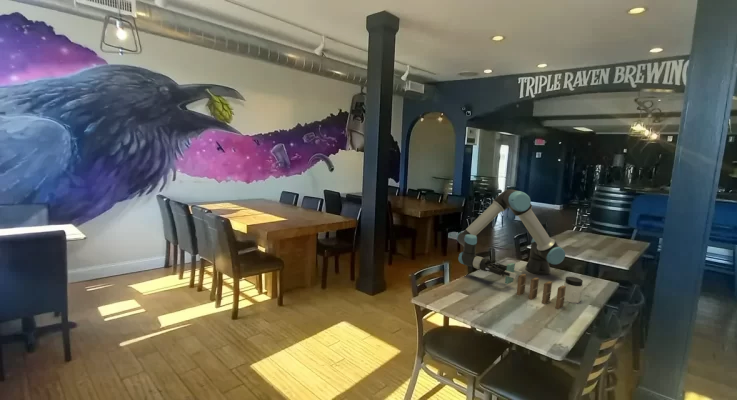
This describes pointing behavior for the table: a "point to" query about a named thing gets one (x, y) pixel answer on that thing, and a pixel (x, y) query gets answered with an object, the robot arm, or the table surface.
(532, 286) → the domino
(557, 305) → the domino
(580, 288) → the jar
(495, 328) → the table surface
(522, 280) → the domino
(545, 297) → the domino
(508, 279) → the domino teal
